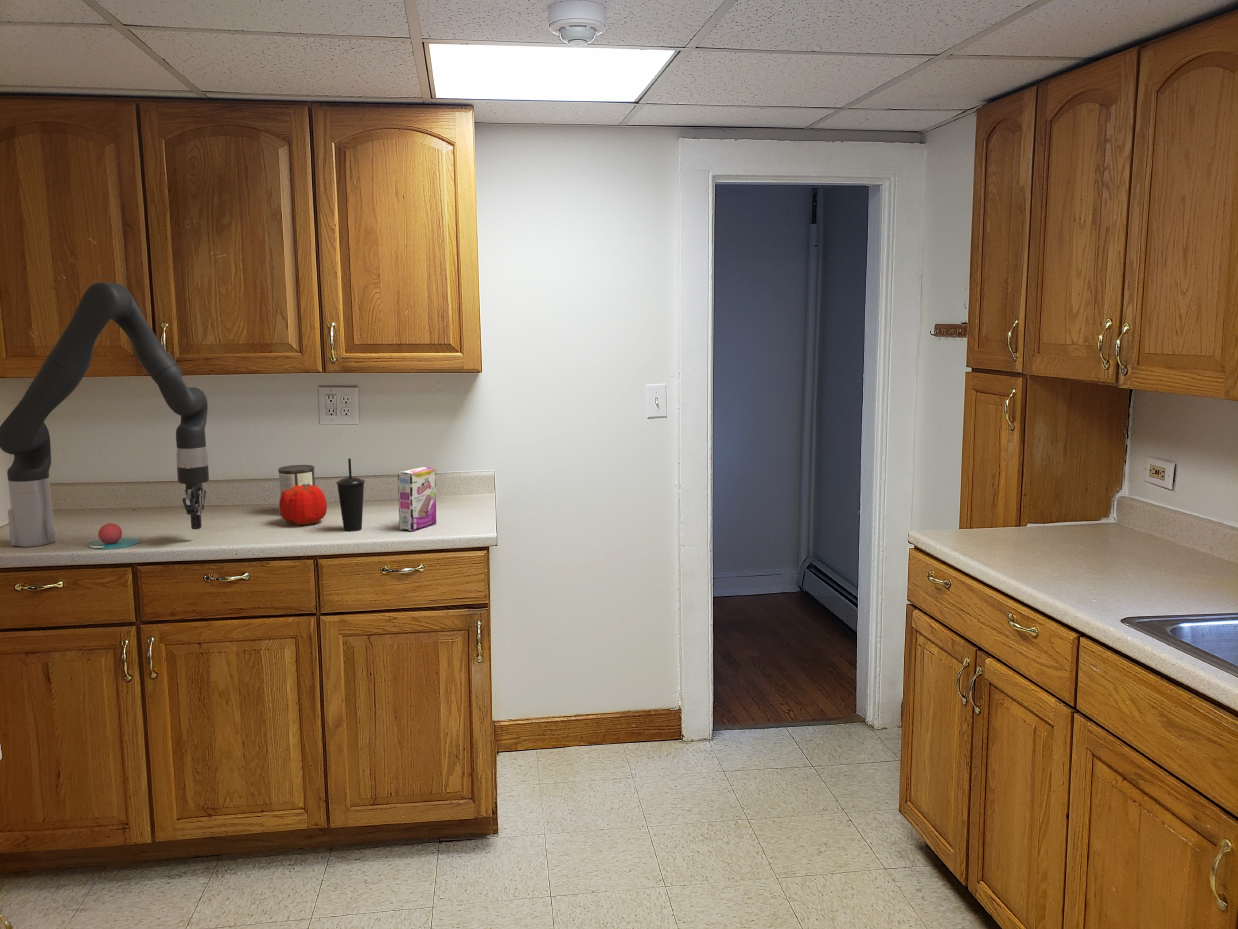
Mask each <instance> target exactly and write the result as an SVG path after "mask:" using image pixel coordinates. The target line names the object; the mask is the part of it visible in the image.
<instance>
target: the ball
mask: <svg viewBox="0 0 1238 929" xmlns="http://www.w3.org/2000/svg"><path fill="white" fill-rule="evenodd" d="M97 534H98V539H99V541H100V540H101V541H102V542H103V543H105V544H114V543H116V542H118V541H119V540H120V539H121V538H123V530H122V528H121V527H120V526H119V525H118V524H116V523H113V522H111V523H106V524H103V525H102V526H101V527H100V528H99V530H98V532H97Z"/></svg>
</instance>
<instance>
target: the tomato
mask: <svg viewBox="0 0 1238 929" xmlns="http://www.w3.org/2000/svg"><path fill="white" fill-rule="evenodd" d="M278 503H279V504H278V506H279V514H280V515H281V518H282V519H283V520H284V521H286V522H287V523H289V524H296V525H299V526H304V525H305V526H306V525H307V524H311V525H312V524H316V523H318V522H320V521H321V520H323V519H324V518H325V516H326V514H327V511H328V503H327V498H326V496H325V494H324V492H323V491H322V489H321V488H320V487H318V486H316V485H315V486H313V485H309V486H308V487H306V486H300V485H297V486H295V487H292V488H290V489H287V490H285V491H283V493H282V494H281V495H280V496H279V502H278Z"/></svg>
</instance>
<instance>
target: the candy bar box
mask: <svg viewBox="0 0 1238 929" xmlns="http://www.w3.org/2000/svg"><path fill="white" fill-rule="evenodd" d="M397 484H398V485H397V486H398V487H397V488H398V489H397V491H398V524H399V530H400V531H404V530H408V531H407V532H416V531H418V530H422V529H424V528H423V527H425V528H427V527H426V526H428V527H430V525H431V526H433V524H434V525H436V524H437V494H436V491H437V490H436V489H437V488H436V485H437V484H436V468H434V467H428V466H427V467H423V466H421V467H416V468H412V469H407V470H403V471H402V470H401V471H399V472H397ZM435 523H436V524H435ZM421 528H422V529H421Z"/></svg>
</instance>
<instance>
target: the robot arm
mask: <svg viewBox="0 0 1238 929" xmlns="http://www.w3.org/2000/svg"><path fill="white" fill-rule="evenodd" d="M111 320H112V321H113V322H114V323H115V324H116V325H117V326H118V327H119V328H121V330H123V332H124V334H126V336H127V337H128V339H129V341H130V343H131V345H132V347H133V350H134V352H135V355H136V356H137V359H138V360H139V362H140V364H141V366H142V367H143V369H144V370H145V372H147V373H148V375H149V377H151V379H152V380H153V381H154V382H155V383H156V385H157V386H158V389H159V391H160V394H161V395H162V398H163V399H164V402H165V403H166V405H167V406H168V408H170V410H171V411H172V412H173V413H175V414H176V415H178V416H180V423H179V425H178V426H177V427H176V429H175V441H176V443H175V444H176V455H175V457H176V472H177V482H178V483H179V484H184V485H185V489H184V492H183V493H184V497H183V498H182V503H183V506H184V508H185V509H184V510H185V511H186V515H189V516H190V526H191V529H192V530H200V529H201V528H202V527H203V526H202V515H201V514H203V511H204V509H205V501H206V495H207V491H206V489H205V488H204V487H203V484H204V483H207V482H209V481H210V475H209V472H210V471H209V461H208V460H209V457H208V455H209V454H208V451H207V442H206V441H207V440H206V424H207V418H208V408H209V407H208V406H209V405H208V400H207V395H206V394H205V393H204V391H203V390H201V389H200V388H197V387H188V386H187V384H186V383H185V381H184V380H183V375H184V373H183V370H182V369H181V366H179V365H178V364H177V362H176V361H175V359H174V358H173V357H172V356H171V355H170V353H169V351H167V349H166V347H165V346H164V345H163V344H162V342H161V341H160V340H159V338H158V336H156V334H155V333H154V331H153V330H152V328H151V326H150V325H149V323H148V322H147V319H146V318H145V317H144V315H143V313H142V311H141V309H140V307H139V306H138V303H137V302H136V300H135V298H134V297H133V295H132V293H131V291H130V290H129V289H128V288H127V287H126V286H124V285H122V284H120V283H116V282H108V281H107V282H106V281H100V282H98V281H97V282H95V283H93V284H91V285H90V286H88V288H86V290H85V292H84V293H83V295H82V296H81V299H80V302H79V303H78V305H77V308H76V309H75V312H74V313H73V316H72V317H71V319H70V322H69V323H68V325H67V327H66V328H65V329H64V331H63V333H62V334H61V335H60V337H59V338H58V341H56V344H55V345H54V346H53V347H52V350H50V352H49V353H48V355H47V357H46V358H45V360H44V361H43V363H42V365H41V366H40V369H39V370H38V372H37V373H36V375H35V376H34V379H33V380H32V381H31V383H30V385H29V386H28V388H27V389H26V391H25V393H24V395H23V396H22V398H21V399H20V400H19V402H18V404H17V405H16V406H15V407H14V409H13V410H12V411H11V412H10V414H8V416H7V417H6V418H5V420H3V422H2V423H1V425H0V450H2V451H3V452H4V453H6V454H9V455H13V461H12V463H11V465H10V467H9V468H8V469H7V472H6V474H7V483H8V492H9V502H10V509H8V510H7V516H8V519H7V520H8V527H9V537H10V545H11V547H12V546H14V547H37V546H43V545H44V544H45V545H49V544H52V543H55V540H56V530H55V520H54V508H53V502H52V491H51V481H50V469H51V466H52V452H51V451H52V450H51V448H52V447H51V436H50V431H49V428H48V427H47V424H46V423H45V421H46V419H47V418H48V417H49V415H50V414H51V413H52V412H53V411H54V410H55V409H56V408H57V407H58V406H59V405H60V404H61V403H63V401H65V400H66V399H67V398H68V397H69V396H70V395H71V394H72V393H74V392H73V391H75V390H76V388H77V387H78V386H79V384H80V383H81V381H82V379H83V378H84V377H85V375H86V374H87V371H88V370H89V368H90V366H91V362H92V358H93V352H94V348H95V344H96V341H97V339H98V337H99V335H100V334H101V332H102V331H103V330H104V328H105V327H106V326H107V324H108V323H109V322H110V321H111Z"/></svg>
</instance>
